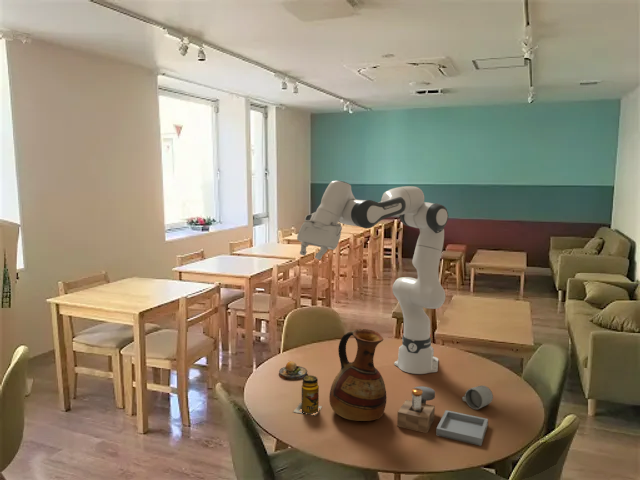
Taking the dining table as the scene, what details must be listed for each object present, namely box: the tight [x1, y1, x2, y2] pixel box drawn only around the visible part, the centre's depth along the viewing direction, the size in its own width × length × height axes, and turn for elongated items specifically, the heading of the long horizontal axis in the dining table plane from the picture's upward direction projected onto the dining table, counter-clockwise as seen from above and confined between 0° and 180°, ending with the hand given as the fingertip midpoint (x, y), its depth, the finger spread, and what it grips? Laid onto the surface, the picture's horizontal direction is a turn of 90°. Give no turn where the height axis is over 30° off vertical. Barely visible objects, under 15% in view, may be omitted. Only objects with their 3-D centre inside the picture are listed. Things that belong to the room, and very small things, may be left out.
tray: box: [435, 409, 489, 447], centre depth 163 cm, size 14×14×2 cm
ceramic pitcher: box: [328, 328, 388, 422], centre depth 172 cm, size 20×20×30 cm
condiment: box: [293, 375, 323, 417], centre depth 176 cm, size 7×8×12 cm
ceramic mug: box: [462, 385, 494, 410], centre depth 182 cm, size 10×8×7 cm
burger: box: [278, 360, 308, 381], centre depth 208 cm, size 12×12×8 cm
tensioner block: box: [396, 385, 436, 434], centre depth 171 cm, size 18×10×8 cm, turn 154°
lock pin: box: [411, 387, 423, 413], centre depth 167 cm, size 4×4×12 cm
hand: (309, 256), depth 176 cm, fingers open, 8 cm apart
